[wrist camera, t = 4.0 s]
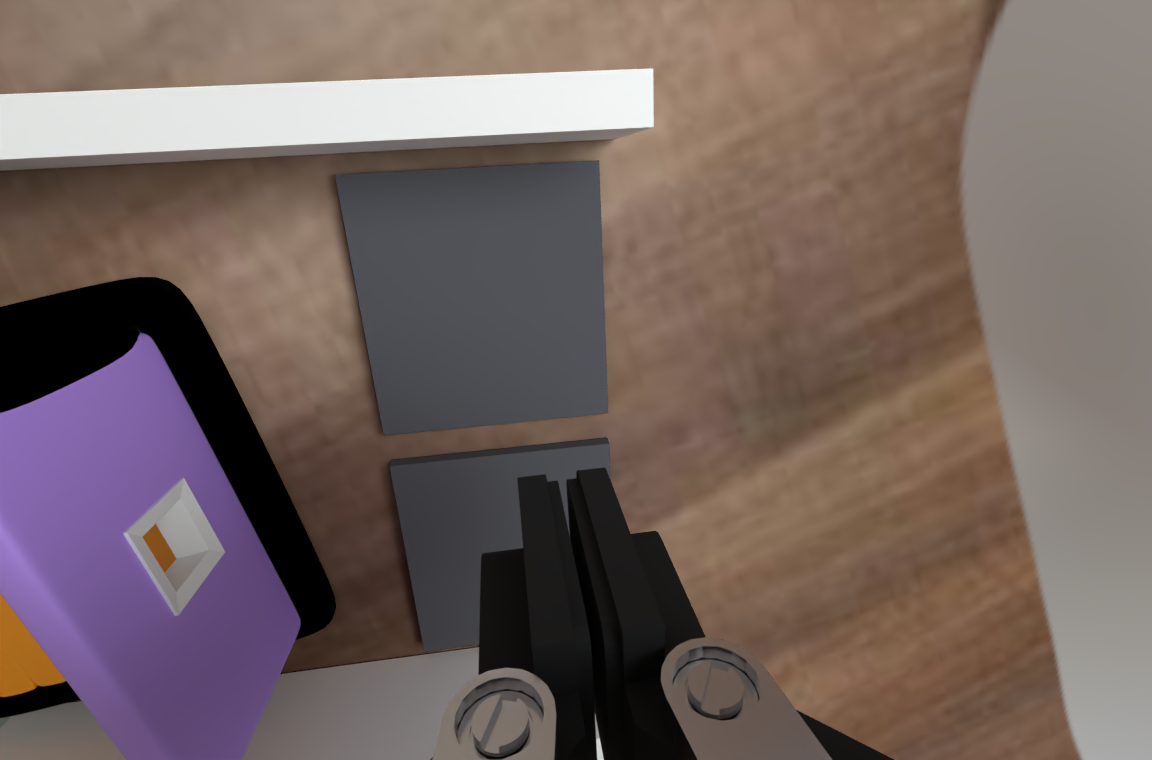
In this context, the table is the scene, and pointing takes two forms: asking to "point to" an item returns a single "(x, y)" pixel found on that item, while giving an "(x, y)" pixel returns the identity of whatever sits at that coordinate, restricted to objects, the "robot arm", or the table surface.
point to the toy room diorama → (142, 527)
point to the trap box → (289, 128)
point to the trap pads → (477, 351)
